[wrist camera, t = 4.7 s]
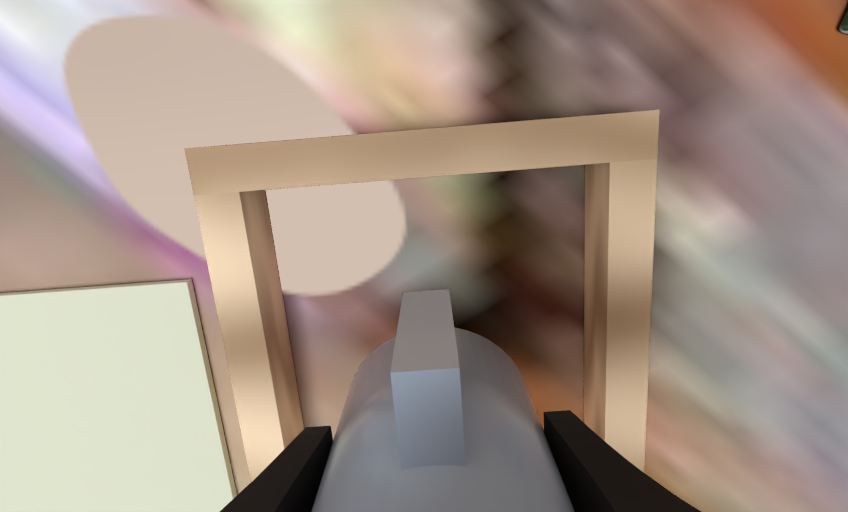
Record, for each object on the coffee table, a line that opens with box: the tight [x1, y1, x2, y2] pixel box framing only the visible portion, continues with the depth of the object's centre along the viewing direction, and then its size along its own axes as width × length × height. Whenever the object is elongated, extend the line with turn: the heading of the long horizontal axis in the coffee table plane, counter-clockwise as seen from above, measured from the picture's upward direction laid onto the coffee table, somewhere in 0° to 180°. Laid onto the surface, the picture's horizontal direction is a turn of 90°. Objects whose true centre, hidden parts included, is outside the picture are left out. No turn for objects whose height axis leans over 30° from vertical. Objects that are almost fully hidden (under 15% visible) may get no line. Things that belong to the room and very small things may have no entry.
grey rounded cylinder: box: [311, 289, 575, 512], centre depth 10 cm, size 7×5×6 cm
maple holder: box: [185, 110, 659, 482], centre depth 18 cm, size 15×15×2 cm
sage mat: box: [0, 279, 237, 512], centre depth 20 cm, size 11×11×1 cm
